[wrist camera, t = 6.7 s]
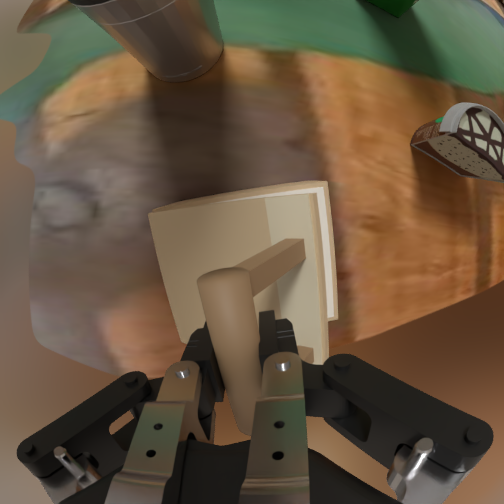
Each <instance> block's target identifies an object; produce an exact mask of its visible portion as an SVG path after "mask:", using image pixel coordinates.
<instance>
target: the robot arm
mask: <svg viewBox="0 0 504 504" xmlns="http://www.w3.org/2000/svg"><path fill="white" fill-rule="evenodd" d="M68 1H70V2H71V3H72V4H73V5H75V6H76V7H77V8H78V9H80V10H81V11H82V12H83V13H84V14H86V15H87V16H88V17H89V18H90V19H92V20H93V21H94V22H95V23H97V24H98V25H99V26H100V27H101V28H102V29H104V30H105V31H106V32H107V33H108V34H109V35H110V36H112V37H113V38H114V39H115V40H116V41H117V42H118V43H119V44H120V45H122V46H123V47H124V48H125V49H126V50H127V51H128V52H129V53H130V54H131V55H132V56H134V57H135V58H136V59H137V60H138V61H139V62H140V63H141V64H142V65H143V66H144V67H145V68H146V69H147V70H148V71H149V72H150V73H151V74H153V75H154V76H155V77H156V78H158V79H161V80H163V81H167V82H183V81H188V80H191V79H194V78H196V77H198V76H200V75H202V74H204V73H205V72H207V71H208V70H209V69H211V67H212V66H213V65H214V64H215V63H216V62H217V60H218V59H219V57H220V55H221V52H222V50H223V40H222V35H221V31H220V26H219V22H218V18H217V14H216V9H215V5H214V1H213V0H68ZM259 335H260V343H259V360H260V365H261V370H262V376H263V377H262V387H261V396H260V397H257V399H256V403H255V411H254V419H253V427H252V434H251V440H247V441H243V442H239V443H234V444H230V445H225V446H219V445H214V431H215V417H216V414H215V410H214V404H215V402H223V398H224V391H225V386H224V383H223V379H222V376H221V373H220V369H219V366H218V362H217V359H216V355H215V352H214V348H213V344H212V341H211V337H210V333H209V330H208V326H207V322H206V321H205V324H204V327H203V328H198V329H196V330H195V331H194V332H193V333H192V334H191V336H190V338H189V342H188V343H187V347H186V348H185V351H184V353H183V356H182V358H181V361H180V362H177V363H175V364H173V365H171V366H170V367H169V368H168V369H167V370H166V373H165V376H164V377H161V378H157V379H152V380H148V378H147V376H146V374H144V373H143V372H139V371H134V372H129V373H126V374H124V375H123V376H121V377H120V378H118V379H117V380H115V381H114V382H112V383H111V384H110V385H108V386H106V387H105V388H104V389H102V390H101V391H99V392H98V393H96V394H95V395H93V396H92V397H90V398H89V399H87V400H86V401H84V402H83V403H81V404H80V405H78V406H77V407H75V408H73V409H72V410H70V411H69V412H67V413H66V414H64V415H63V416H61V417H60V418H58V419H57V420H55V421H54V422H52V423H50V424H49V425H47V426H46V427H44V428H42V429H41V430H39V431H38V432H36V433H35V434H33V435H31V436H30V437H28V438H27V439H25V440H24V441H22V442H21V443H20V445H19V446H18V449H17V457H18V459H19V460H20V461H21V462H22V463H23V464H24V465H25V466H26V467H27V468H28V469H29V470H30V471H31V473H32V474H33V475H34V476H35V477H36V478H37V479H38V480H40V482H41V484H42V485H43V487H44V489H45V490H46V492H47V494H48V495H49V497H50V498H51V500H52V502H53V503H54V504H442V503H443V502H444V501H445V500H446V498H447V497H448V496H449V494H450V493H451V492H452V491H453V490H454V489H455V488H456V487H457V486H458V485H459V484H460V483H461V482H462V480H463V479H464V478H465V477H466V476H467V475H468V474H469V473H470V472H471V470H472V469H473V468H474V467H475V466H476V464H477V463H478V462H479V461H480V460H481V458H482V457H483V456H484V455H485V453H486V452H487V451H488V449H489V448H490V446H491V444H492V442H493V431H492V428H491V427H490V426H489V424H487V423H486V422H485V421H483V420H480V419H478V418H476V417H474V416H472V415H470V414H467V413H465V412H463V411H461V410H459V409H457V408H455V407H452V406H451V405H448V404H446V403H444V402H442V401H440V400H438V399H436V398H434V397H432V396H430V395H428V394H426V393H424V392H422V391H420V390H418V389H416V388H414V387H412V386H410V385H408V384H406V383H404V382H403V381H401V380H399V379H397V378H395V377H393V376H391V375H389V374H387V373H385V372H384V371H382V370H380V369H378V368H376V367H374V366H372V365H370V364H368V363H366V362H365V361H363V360H361V359H359V358H357V357H356V356H354V355H351V354H337V355H334V356H331V357H329V358H328V359H327V360H326V361H325V362H324V364H323V365H316V364H310V363H307V362H305V361H303V360H302V359H301V358H300V357H299V353H298V349H297V344H296V339H295V334H294V330H293V325H292V322H290V321H289V320H288V319H287V318H284V319H277V320H276V319H275V312H274V310H269V311H261V312H259ZM129 410H130V412H131V413H132V415H133V417H134V419H132V420H131V421H130V422H129V423H127V424H126V425H125V426H123V427H122V428H121V429H120V430H118V431H117V432H115V434H112V435H111V434H110V432H109V426H110V425H111V423H113V422H114V421H115V420H117V419H118V418H119V417H121V416H122V415H123V414H125V413H126V412H127V411H129ZM306 416H313V417H323V418H324V420H325V421H326V422H327V423H328V424H329V425H330V426H331V427H333V428H334V429H335V430H336V431H338V432H339V433H340V434H341V435H343V436H344V437H345V438H347V439H348V440H349V441H351V442H352V443H353V444H355V445H356V446H357V447H358V448H360V449H361V450H362V451H364V452H365V453H367V454H368V455H370V456H371V457H372V458H373V459H375V460H376V461H378V462H379V463H380V464H382V465H383V466H385V467H386V468H388V469H389V471H388V473H387V482H388V485H389V486H390V487H391V488H392V489H393V490H394V491H395V493H396V495H397V500H395V499H393V498H392V497H390V496H388V495H386V494H384V493H382V492H380V491H379V490H377V489H375V488H373V487H372V486H370V485H368V484H367V483H365V482H363V481H361V480H360V479H358V478H357V477H355V476H354V475H352V474H350V473H349V472H347V471H345V470H344V469H343V468H341V467H340V466H338V465H337V464H335V463H334V462H332V461H331V460H329V459H328V458H326V457H325V456H323V455H322V454H320V453H318V452H316V451H314V450H312V449H310V448H308V446H307V429H306Z"/></svg>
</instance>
